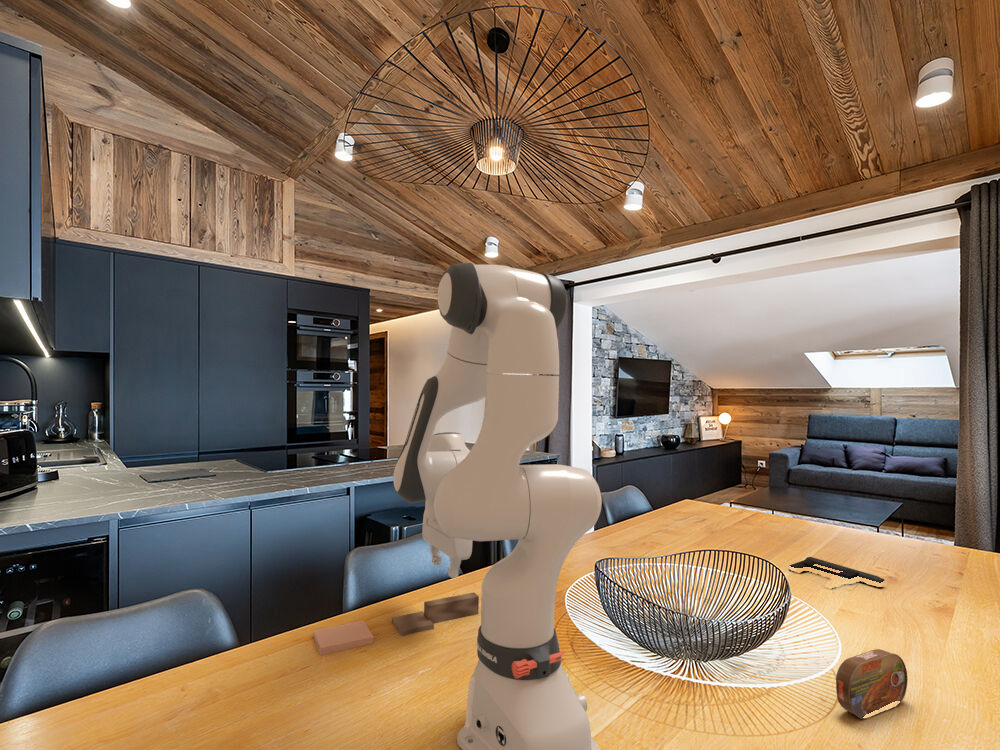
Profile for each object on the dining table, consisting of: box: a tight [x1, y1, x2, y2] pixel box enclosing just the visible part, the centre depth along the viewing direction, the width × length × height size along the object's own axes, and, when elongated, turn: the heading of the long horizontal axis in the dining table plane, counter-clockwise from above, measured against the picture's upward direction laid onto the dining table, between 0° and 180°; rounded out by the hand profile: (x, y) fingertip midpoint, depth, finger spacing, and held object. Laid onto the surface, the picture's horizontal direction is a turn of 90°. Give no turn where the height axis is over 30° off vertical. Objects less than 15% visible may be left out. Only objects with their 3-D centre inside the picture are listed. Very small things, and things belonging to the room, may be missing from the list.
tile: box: [312, 620, 375, 656], centre depth 101 cm, size 8×2×10 cm
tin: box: [835, 648, 908, 720], centre depth 82 cm, size 15×3×8 cm, turn 114°
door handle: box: [789, 556, 886, 583], centre depth 139 cm, size 3×20×16 cm
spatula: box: [391, 592, 480, 637], centre depth 111 cm, size 18×7×4 cm, turn 118°
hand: (444, 570), depth 111 cm, fingers open, 8 cm apart
